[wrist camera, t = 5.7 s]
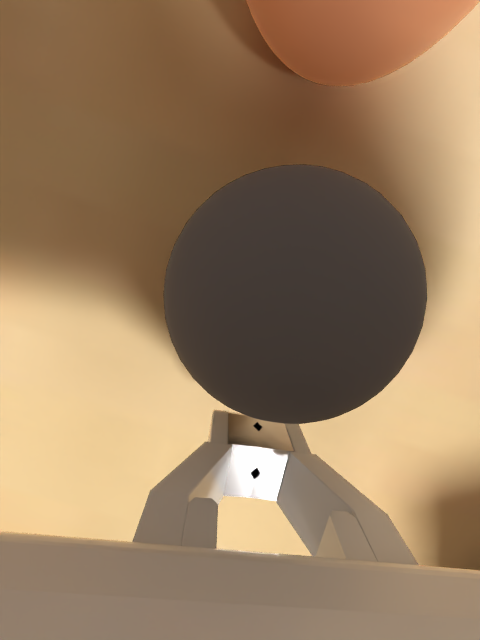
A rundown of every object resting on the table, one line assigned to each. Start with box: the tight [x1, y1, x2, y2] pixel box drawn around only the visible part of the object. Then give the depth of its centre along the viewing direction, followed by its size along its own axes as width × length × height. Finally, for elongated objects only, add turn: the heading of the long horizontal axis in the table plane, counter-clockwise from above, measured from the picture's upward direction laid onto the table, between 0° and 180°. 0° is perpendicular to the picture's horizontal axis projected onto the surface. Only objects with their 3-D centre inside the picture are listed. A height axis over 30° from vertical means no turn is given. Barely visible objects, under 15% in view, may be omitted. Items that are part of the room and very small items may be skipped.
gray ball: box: [164, 165, 427, 424], centre depth 6 cm, size 6×6×6 cm
